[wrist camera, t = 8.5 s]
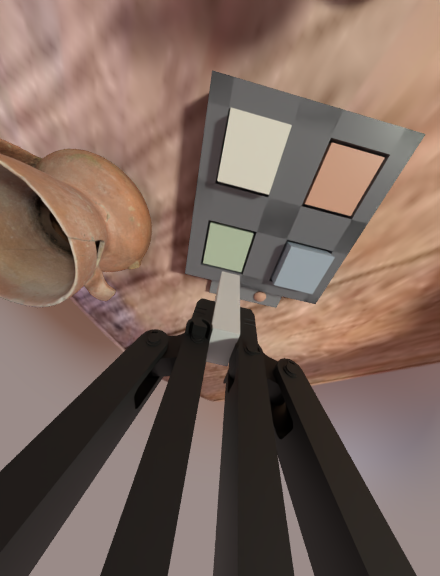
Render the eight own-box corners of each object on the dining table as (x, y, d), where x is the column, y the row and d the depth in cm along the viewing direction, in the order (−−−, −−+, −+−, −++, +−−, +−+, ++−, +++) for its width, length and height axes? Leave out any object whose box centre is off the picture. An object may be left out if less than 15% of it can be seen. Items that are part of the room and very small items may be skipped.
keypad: (395, 141, 19) (425, 134, 16) (307, 291, 29) (315, 304, 26) (216, 88, 18) (212, 70, 15) (190, 263, 28) (185, 273, 25)
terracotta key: (370, 160, 19) (384, 157, 17) (340, 213, 22) (350, 216, 20) (322, 146, 19) (332, 142, 17) (298, 201, 22) (304, 203, 20)
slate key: (326, 251, 23) (335, 257, 21) (306, 286, 26) (312, 294, 24) (286, 240, 23) (291, 246, 21) (270, 277, 25) (273, 285, 24)
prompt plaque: (282, 291, 30) (283, 294, 29) (275, 304, 31) (276, 308, 30) (213, 274, 29) (212, 277, 28) (209, 289, 31) (209, 292, 30)
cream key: (285, 131, 17) (291, 124, 15) (265, 193, 20) (268, 194, 18) (231, 115, 17) (230, 107, 15) (218, 181, 20) (217, 180, 18)
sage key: (252, 229, 24) (253, 233, 22) (240, 265, 27) (241, 272, 25) (212, 219, 23) (210, 222, 21) (205, 257, 26) (202, 263, 24)
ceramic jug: (184, 241, 26) (140, 287, 14) (120, 282, 31) (44, 344, 19) (86, 101, 19) (-169, -47, 7) (22, 181, 24) (-201, 175, 12)
